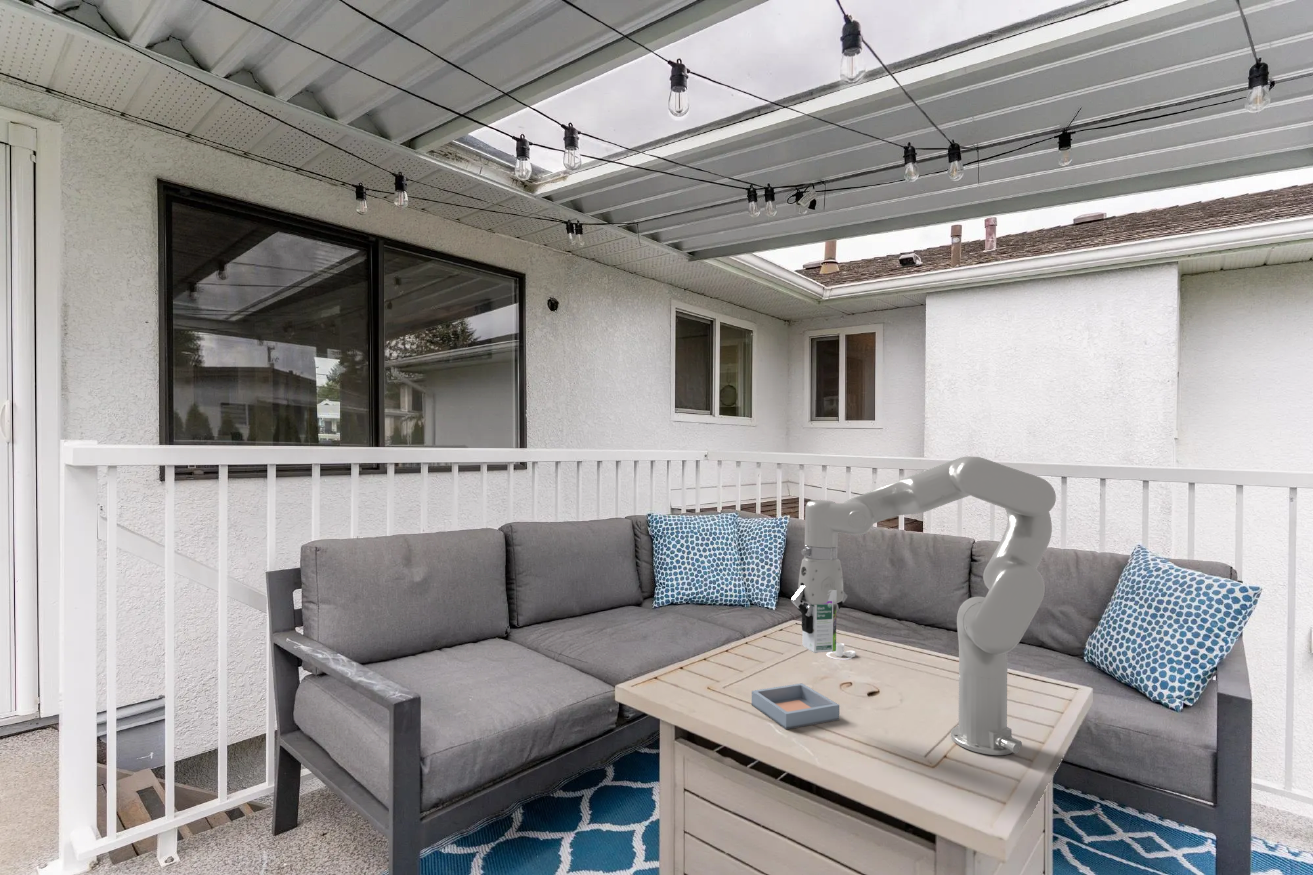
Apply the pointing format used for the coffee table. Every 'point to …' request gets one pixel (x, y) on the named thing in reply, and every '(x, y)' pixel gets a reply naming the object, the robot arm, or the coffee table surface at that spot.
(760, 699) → the box
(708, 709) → the coffee table surface
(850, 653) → the teacup and saucer
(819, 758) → the coffee table surface
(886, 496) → the robot arm
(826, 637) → the syrup box
